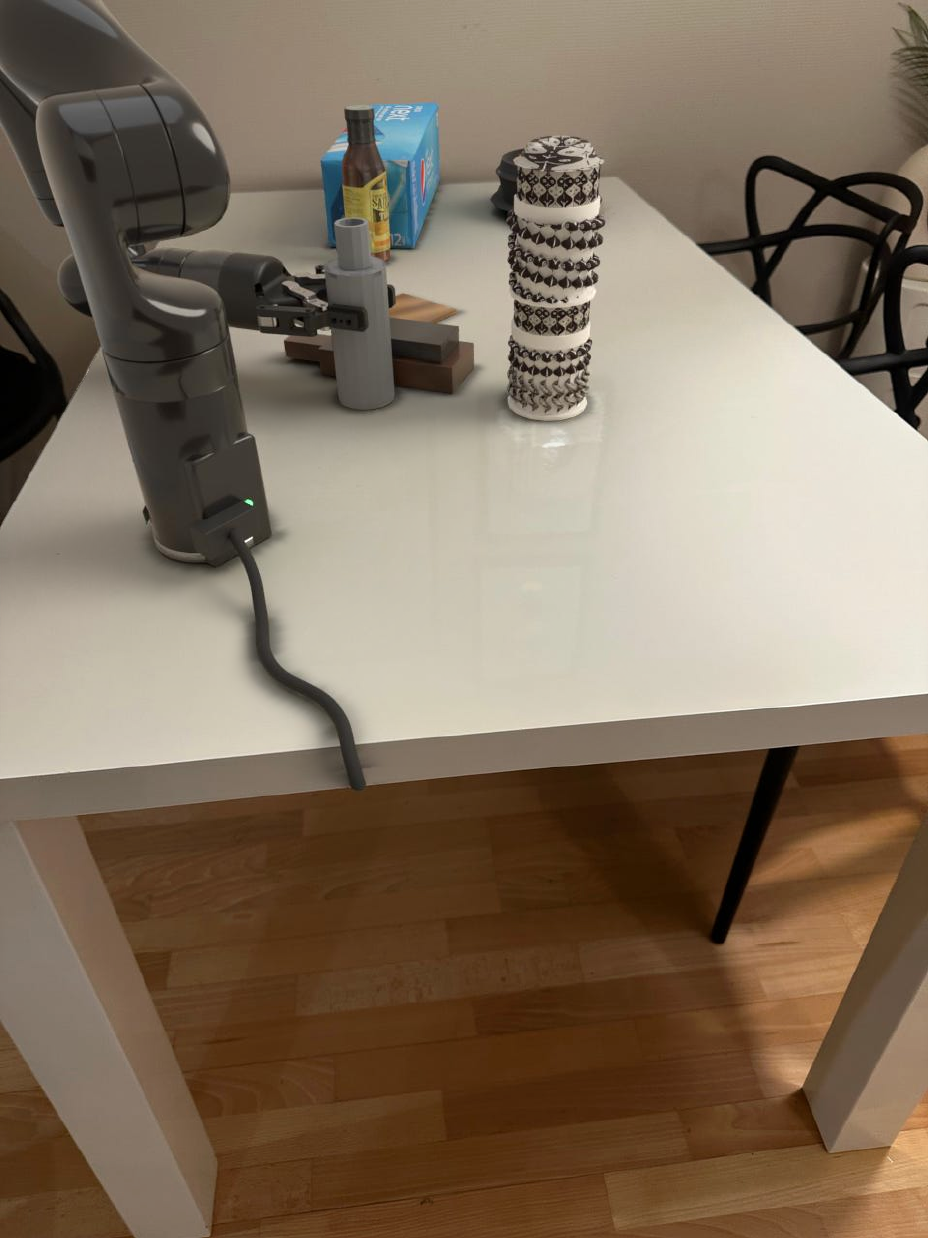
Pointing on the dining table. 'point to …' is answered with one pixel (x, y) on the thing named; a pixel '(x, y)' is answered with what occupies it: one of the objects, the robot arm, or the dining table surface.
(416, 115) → the soda pack
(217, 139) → the robot arm
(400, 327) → the scrub brush
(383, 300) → the steel bottle
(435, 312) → the cork mat
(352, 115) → the sauce bottle
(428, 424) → the dining table surface
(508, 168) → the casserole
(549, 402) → the decorative candle
